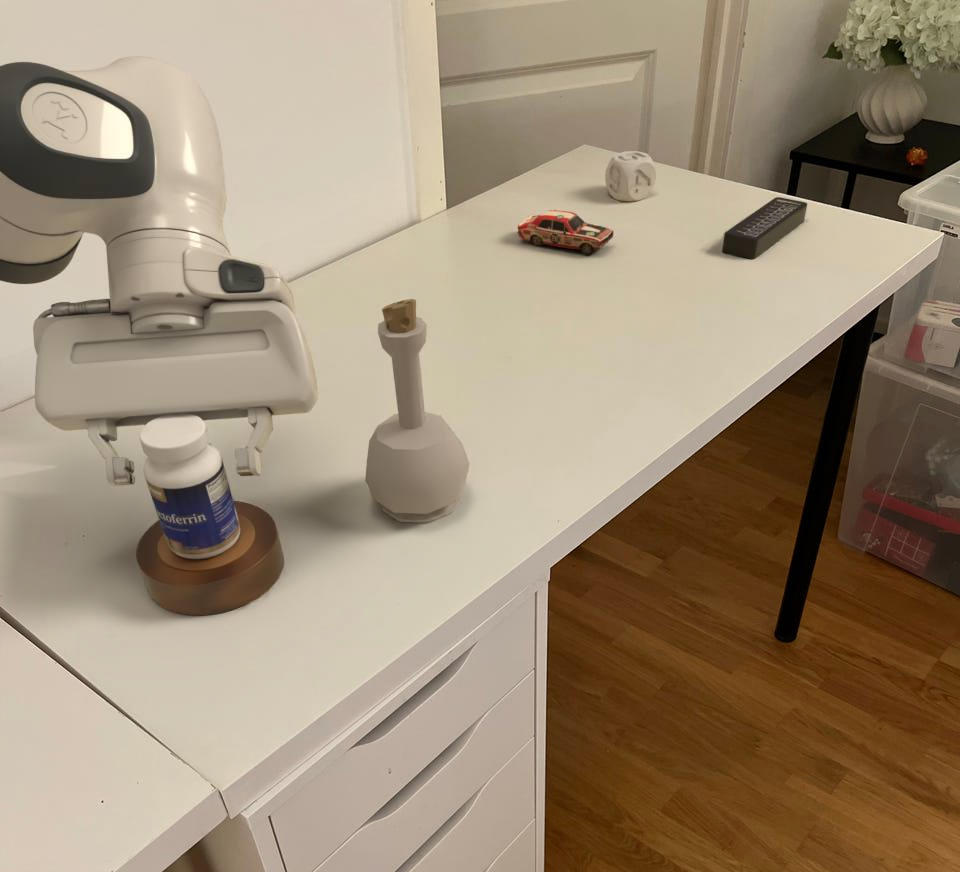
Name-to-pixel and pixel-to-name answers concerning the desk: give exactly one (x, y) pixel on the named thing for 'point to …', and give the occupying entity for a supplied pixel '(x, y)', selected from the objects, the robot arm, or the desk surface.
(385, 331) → the potion bottle
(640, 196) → the die
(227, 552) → the brown wooden disc
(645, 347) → the desk surface
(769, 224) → the remote control
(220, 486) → the pill bottle
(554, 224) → the race car
